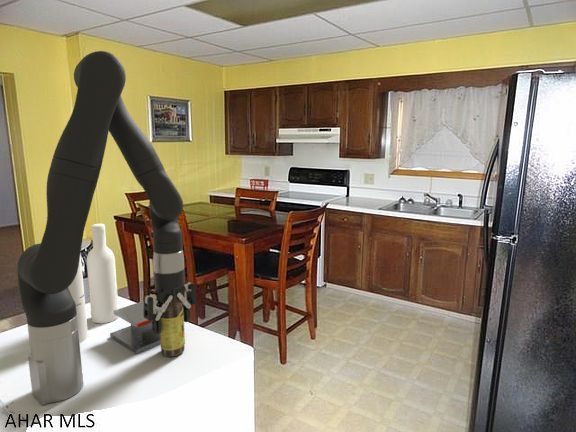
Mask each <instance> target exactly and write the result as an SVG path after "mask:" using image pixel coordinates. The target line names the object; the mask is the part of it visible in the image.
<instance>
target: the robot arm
mask: <svg viewBox="0 0 576 432" xmlns="http://www.w3.org/2000/svg"><path fill="white" fill-rule="evenodd" d="M126 79H127V78H126V70H125V68H124V65H123V64H122V62H121V60H120V59H119V58H118V57H117V56H115V54H113V53H111V52H108V51H105V50H104V51H103V50H97V51H93V52H91V53H88V54H86V55H85V56H84V57H82V59H80V61H79V62H78V63H77V64H76V67H75V68H74V72H73V80H74V83H75V86H76V87H77V91H76V96H75V101H74V106H73V109H72V112H71V115H70V117H69V119H68V121H67V124H66V125H65V127H64V129H63V130H62V133H61V135H60V137H59V139H58V142H57V144H56V147H55V150H54V153H53V155H52V158H51V162H50V167H49V170H48V175H47V181H46V209H47V210H46V211H47V212H46V213H47V216H46V225H45V229H44V232H43V234H42V235H43V236H42V239H41V242H40V243H36V244H32V245H31V246H29V247H28V248H26V249H25V250H24V251H23V252H22V253H21V255H20V256H19V258H18V261H17V265H16V266H17V267H16V270H17V271H16V272H17V281H18V287H19V293H20V300H21V306H22V309H23V311H24V314H25V318H26V324H27V331H28V332H27V333H28V341H29V348H30V353H28V354H27V359H28V367H29V368H28V369H29V376H30V377H29V379H30V384H31V385H30V386H31V392H32V395H33V396H34V398H36V400H37V401H38V402H39V403H40V404H41V405H42V406H45V405H48V404H51V403H57V402H62V401H64V400H68V399H69V398H71V397H73V396H75V395H77V394H78V393H79V392H80V391H81V390H82V389H83V387H84V374H83V366H82V365H83V364H82V356H81V354H82V353H81V345H80V343H81V342H80V343H79V333H78V322H77V311H76V304H75V301H74V299H73V298H72V296H71V293H70V291H69V288H68V287H69V286H70V285H71V283H72V282H73V281H74V279H75V277H76V274H77V271H78V267H79V260H80V253H81V252H82V246H83V245H82V244H83V238H84V233H85V227H86V225H87V221H88V218H89V214H90V211H91V207H92V203H93V198H94V196H95V195H94V194H95V192H96V189H97V186H98V180H99V178H100V174H101V170H102V166H103V161H104V157H105V151H106V147H107V142H108V138H109V137H108V135H109V133H110V135H111V137H112V138H113V140H114V142H115V144H116V146H117V147H118V150H119V151H120V153H121V155H122V157H123V159H124V160H125V162H126V164H127V166H128V167H129V169H130V171H131V173H132V174H133V177H134V178H135V180H136V181H137V183H138V184H139V185H140V186H141V188H142V189H143V190H144V192H145V195H146V197H147V198H148V200H149V202H148V203H149V204H148V206H149V215H150V221H151V227H152V240H153V241H152V242H153V257H152V259H153V260H152V263H153V264H152V265H153V277H154V278H153V281H154V284H153V285H154V288H155V292H154V294H150V295H147V294H144V295H143V301H144V318H146V319H148V320H149V321H152V330H153V331H154V332H155V333H157V334H159V333H161V320H160V317H161V315H162V313H164V312H165V310H166V308H167V306H168V305H169V303H170V302H171V300H172V298H173V296H172V295H170V294H169V290H171V289H177V293H176V296H177V298H178V299H179V300H180V301H181V302H182V305H183V315H184V323H188V322H189V321H190V319H191V307H192V306H193V305H196V303H197V294H196V284H195V283H193V282H190V281H186V275H185V274H186V273H185V271H186V270H185V256H184V249H183V248H184V247H183V246H184V245H183V234H182V230H181V228H180V225H179V216H180V215H182V213H183V210H184V203H183V202H184V201H183V199H182V198H183V197H182V196H181V194H180V192H179V191H178V189H177V188H176V186H175V184H174V182H172V179H171V178H170V177H169V176H168V174H167V172H166V170H165V168H164V165H163V163H162V161H161V159H160V157H159V155H158V154H157V152H156V150H155V148H154V146H153V144H152V142H151V141H150V140H149V138H148V137H147V135H146V134H145V133H144V132H143V131H142V129H141V128H140V127H139V126H138V124H137V123H136V122H135V120H134V119H133V117H132V116H131V115H130V113H129V110H128V108H127V107H126V105H125V103H124V101H123V98H122V93H123V90H124V88H125V86H126ZM81 254H82V253H81ZM185 292H186V297H185V296H184V294H185ZM155 300H157V301H156V303H155ZM154 303H155V305H154V309H153V304H154ZM160 304H161V305H162V307H161V308H160V307H159V306H160Z"/></svg>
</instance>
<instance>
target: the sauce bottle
mask: <svg viewBox="0 0 576 432" xmlns="http://www.w3.org/2000/svg"><path fill="white" fill-rule="evenodd" d="M176 293H177V289H171V290H169V294H170V295H172V296H173V298H172V300H171V302H170V303H169V305H168V306H167V308H166V310H165V312H164V313H162V315H161V317H160V320H161V333H160V344H159V345H160V348H161V349H160V351H161V355H163V357H166V358H167V357H168V358H169V357H176V356H179V355H180V354H182V353H184V351H185V349H186V348H185V344H186V338H185V337H186V336H185V334H186V333H185V322H184V315H183V305H182V302H181V301H180V300H179V299H178V298H177V296H176ZM159 307H160V308H161V307H162V305H161V304H160V306H159Z"/></svg>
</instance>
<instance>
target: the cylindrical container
mask: <svg viewBox="0 0 576 432" xmlns="http://www.w3.org/2000/svg"><path fill="white" fill-rule="evenodd" d="M84 287H85V286H84V278H83V266H82V253H80V260H79V267H78V271H77V274H76V277H75V279H74V281H73V282H72V283H71V285H70V286H69V287H68V288H69V291H70V293H71V296H72V298H73V299H74V301H75V304H76V311H77V322H78V333H79V343H82V342H84V341H85V340H87V339H88V337H89V334H88V333H89V331H88V323H87V322H88V321H87V319H88V318H87V311H86V310H87V309H86V299H85V298H86V297H85V288H84Z"/></svg>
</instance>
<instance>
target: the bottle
mask: <svg viewBox="0 0 576 432" xmlns="http://www.w3.org/2000/svg"><path fill="white" fill-rule="evenodd" d="M90 230H91V236H92V247H93V248H91V250H90V251H88V253H87V256H86V266H87V267H86V268H87V269H86V270H87V280H88V291H89V304H90V315H91V321H92V322H93V323H95V324H108V323H111V322H114V321H116V320H117V319H119V317H118V316H116V315H115V314H114V310H117V309H120V308H119V298H118V297H119V296H118V286H117V285H118V283H117V271H116V269H117V268H116V257H115V255H114V252H113V250H112V249H110V248H109V247H108V246H107V237H106V236H107V235H106V234H107V233H106V230H107V229H106V225H105V224H104V223H95V224H92V225H91V229H90Z"/></svg>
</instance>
